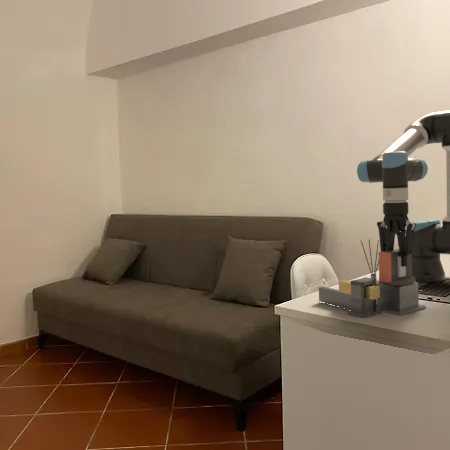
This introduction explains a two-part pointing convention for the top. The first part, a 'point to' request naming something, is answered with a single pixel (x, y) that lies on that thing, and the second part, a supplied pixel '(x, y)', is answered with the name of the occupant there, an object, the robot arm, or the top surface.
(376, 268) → the reed diffuser
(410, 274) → the grey block orange side
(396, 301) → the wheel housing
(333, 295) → the eye bracket
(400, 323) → the top surface
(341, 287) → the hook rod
